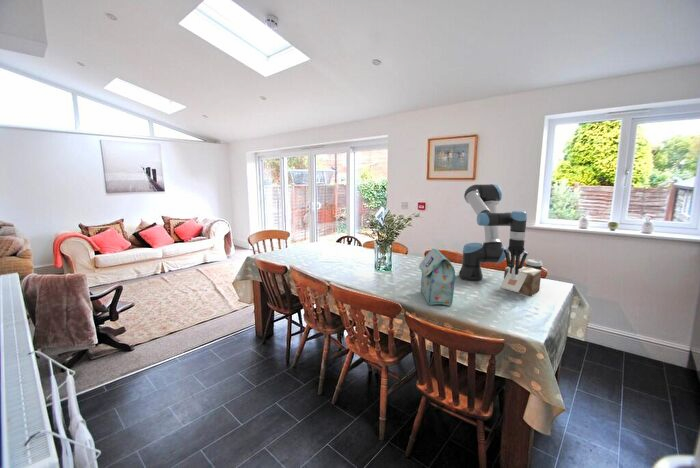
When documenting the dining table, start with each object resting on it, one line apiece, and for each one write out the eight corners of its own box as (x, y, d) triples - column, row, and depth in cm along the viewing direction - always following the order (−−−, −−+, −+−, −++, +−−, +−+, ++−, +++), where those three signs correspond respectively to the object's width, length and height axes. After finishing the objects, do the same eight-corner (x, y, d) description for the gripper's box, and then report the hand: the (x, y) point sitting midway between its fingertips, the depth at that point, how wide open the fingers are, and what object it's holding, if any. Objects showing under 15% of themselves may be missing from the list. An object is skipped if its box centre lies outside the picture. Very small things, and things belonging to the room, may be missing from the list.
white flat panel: (500, 287, 183) (499, 286, 183) (509, 271, 188) (508, 270, 188) (518, 292, 176) (517, 291, 175) (527, 275, 181) (526, 274, 180)
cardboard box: (502, 288, 193) (504, 268, 191) (511, 284, 201) (513, 264, 199) (531, 296, 181) (533, 274, 179) (539, 291, 189) (541, 270, 187)
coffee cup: (543, 286, 196) (545, 263, 194) (526, 285, 198) (528, 262, 196) (537, 281, 206) (539, 259, 203) (521, 280, 208) (523, 258, 205)
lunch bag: (417, 291, 190) (418, 247, 185) (444, 291, 190) (447, 247, 185) (424, 306, 167) (426, 257, 163) (456, 307, 167) (459, 257, 162)
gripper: (502, 238, 179) (499, 278, 183) (526, 241, 170) (523, 283, 173) (507, 236, 184) (504, 275, 188) (532, 239, 174) (528, 280, 178)
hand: (513, 279), depth 181 cm, fingers closed
